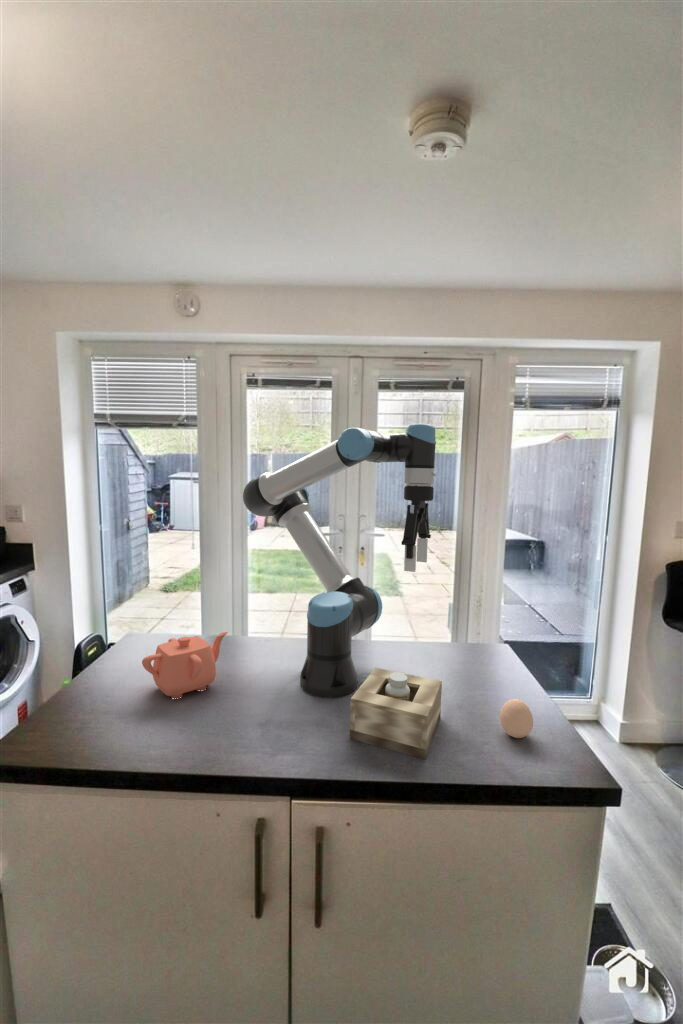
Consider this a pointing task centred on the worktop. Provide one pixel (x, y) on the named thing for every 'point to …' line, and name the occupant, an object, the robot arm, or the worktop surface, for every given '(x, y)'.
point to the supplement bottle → (398, 687)
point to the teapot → (184, 664)
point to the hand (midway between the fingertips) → (416, 566)
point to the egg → (516, 718)
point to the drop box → (396, 714)
